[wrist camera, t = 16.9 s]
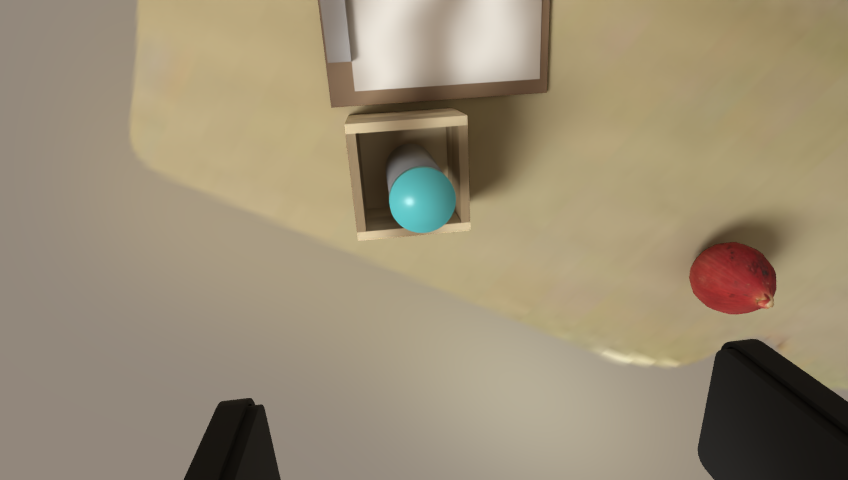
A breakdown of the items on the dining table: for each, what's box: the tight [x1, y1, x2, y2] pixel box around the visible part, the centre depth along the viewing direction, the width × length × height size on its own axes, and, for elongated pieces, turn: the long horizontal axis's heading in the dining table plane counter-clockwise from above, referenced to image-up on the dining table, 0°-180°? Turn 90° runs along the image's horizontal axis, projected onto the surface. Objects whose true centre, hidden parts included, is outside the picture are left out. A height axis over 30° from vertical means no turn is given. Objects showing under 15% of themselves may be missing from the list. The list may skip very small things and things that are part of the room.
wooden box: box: [344, 108, 470, 241], centre depth 33 cm, size 8×8×6 cm
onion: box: [689, 242, 776, 314], centre depth 38 cm, size 6×6×8 cm
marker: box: [385, 144, 456, 233], centre depth 31 cm, size 4×4×10 cm
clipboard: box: [318, 0, 550, 108], centre depth 32 cm, size 16×12×1 cm
